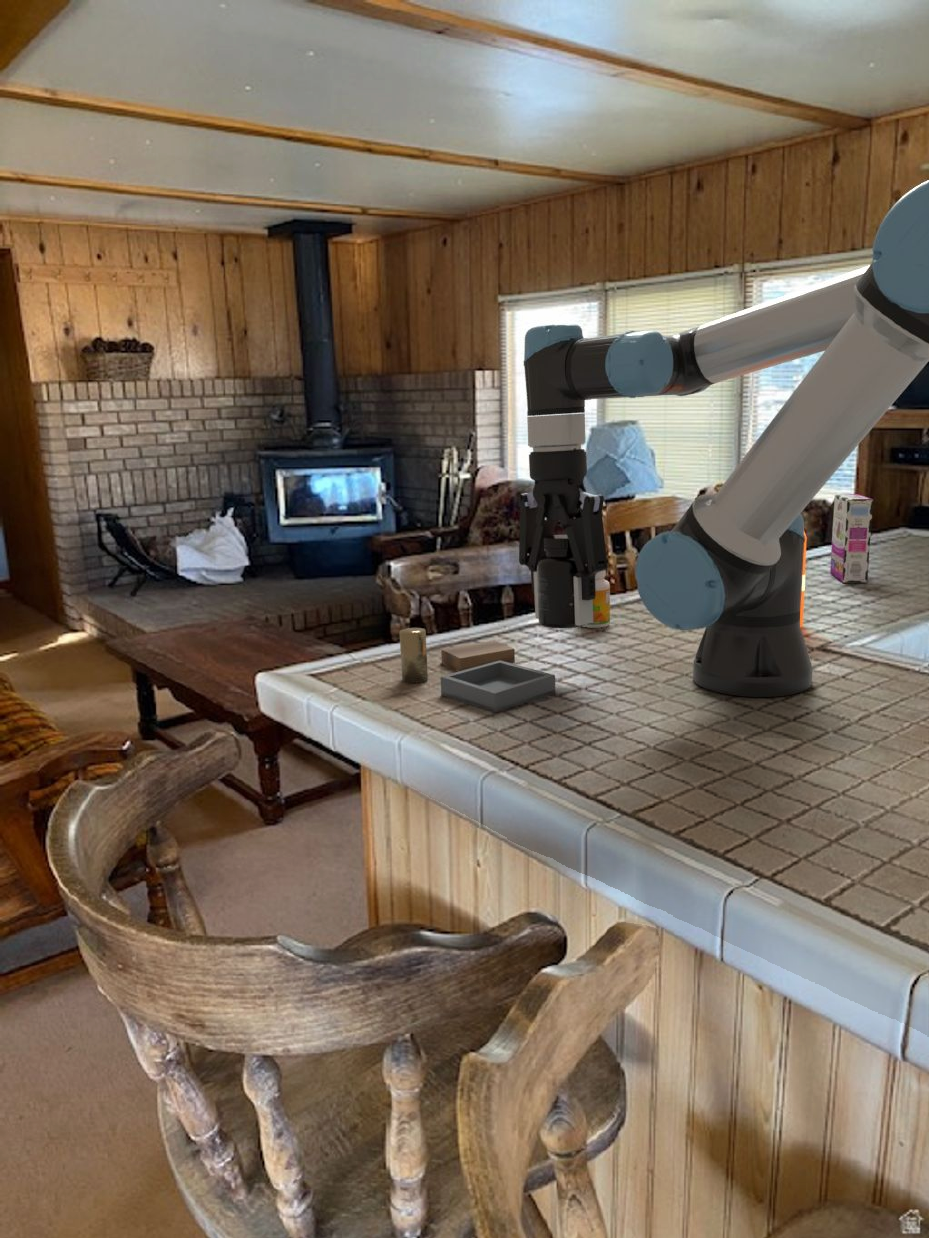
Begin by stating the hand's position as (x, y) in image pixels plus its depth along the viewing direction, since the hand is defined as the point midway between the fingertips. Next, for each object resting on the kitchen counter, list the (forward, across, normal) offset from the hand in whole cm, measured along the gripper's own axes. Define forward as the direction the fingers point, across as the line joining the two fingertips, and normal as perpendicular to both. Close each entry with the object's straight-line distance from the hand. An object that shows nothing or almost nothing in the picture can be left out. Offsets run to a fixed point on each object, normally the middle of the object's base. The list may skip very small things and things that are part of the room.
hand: (563, 619), depth 129 cm
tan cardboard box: (+8, +15, +3) cm, 17 cm away
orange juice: (+9, -4, -42) cm, 43 cm away
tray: (+8, +1, +11) cm, 14 cm away
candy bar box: (+9, +6, -87) cm, 88 cm away
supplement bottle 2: (+8, +18, -25) cm, 32 cm away
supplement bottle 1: (+1, 0, 0) cm, 1 cm away
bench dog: (+8, +15, +15) cm, 22 cm away
